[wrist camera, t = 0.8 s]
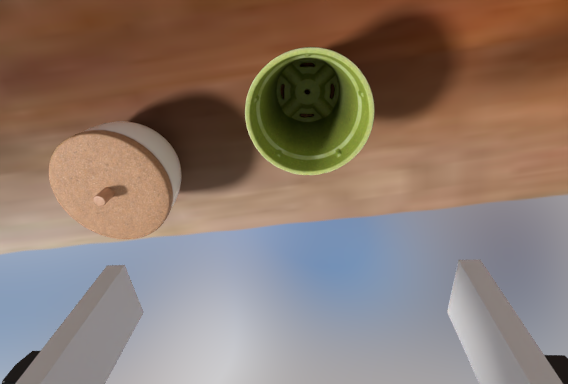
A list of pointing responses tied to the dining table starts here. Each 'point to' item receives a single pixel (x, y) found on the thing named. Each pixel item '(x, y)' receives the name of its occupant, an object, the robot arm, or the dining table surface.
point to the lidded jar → (116, 179)
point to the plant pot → (309, 111)
